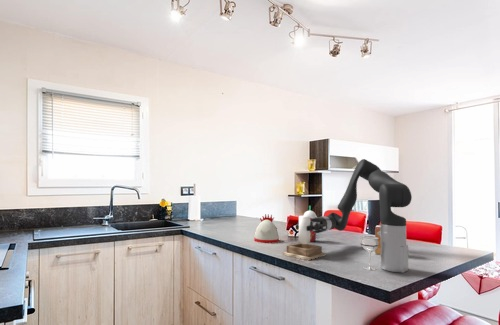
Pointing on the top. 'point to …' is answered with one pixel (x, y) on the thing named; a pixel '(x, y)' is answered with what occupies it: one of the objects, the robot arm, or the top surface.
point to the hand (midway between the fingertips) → (301, 227)
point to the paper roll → (304, 229)
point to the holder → (304, 251)
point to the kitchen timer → (266, 231)
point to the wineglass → (369, 247)
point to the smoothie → (312, 215)
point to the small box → (378, 235)
